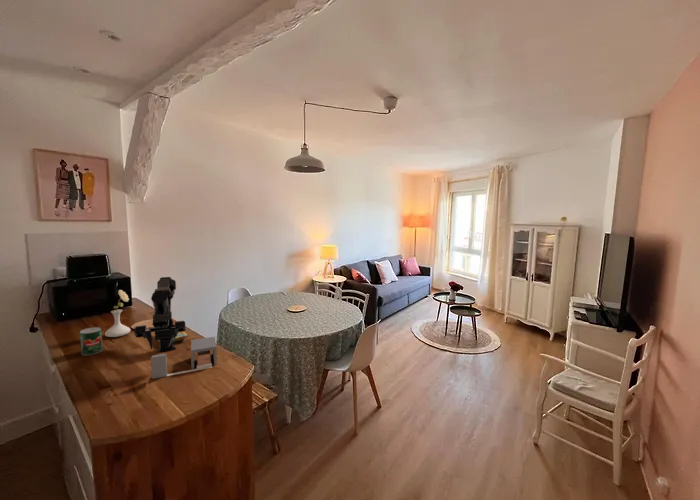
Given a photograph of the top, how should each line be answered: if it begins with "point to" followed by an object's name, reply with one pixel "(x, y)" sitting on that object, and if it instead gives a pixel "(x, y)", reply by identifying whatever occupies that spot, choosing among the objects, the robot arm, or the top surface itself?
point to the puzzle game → (180, 336)
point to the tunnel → (203, 348)
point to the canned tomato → (91, 341)
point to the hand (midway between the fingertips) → (160, 347)
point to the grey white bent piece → (161, 366)
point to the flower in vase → (118, 319)
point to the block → (204, 357)
